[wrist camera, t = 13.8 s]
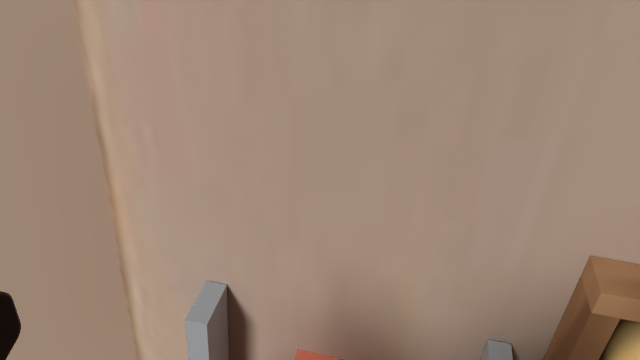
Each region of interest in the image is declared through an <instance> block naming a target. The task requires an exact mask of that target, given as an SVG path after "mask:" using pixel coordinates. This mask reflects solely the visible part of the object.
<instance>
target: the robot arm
mask: <svg viewBox="0 0 640 360" xmlns="http://www.w3.org/2000/svg"><path fill="white" fill-rule="evenodd" d="M20 330H21V323H20V319H19V316H18V314H17V311H16V308H15V305H14V302H13V299H12V297H11V295H9V294H8V293H5V292H1V291H0V360H6V358H7V356H8V355H9V353H10V351H11V349H12V347H13V346H14V344H15V342H16V340H17V339H18V336H19V333H20Z"/></svg>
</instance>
